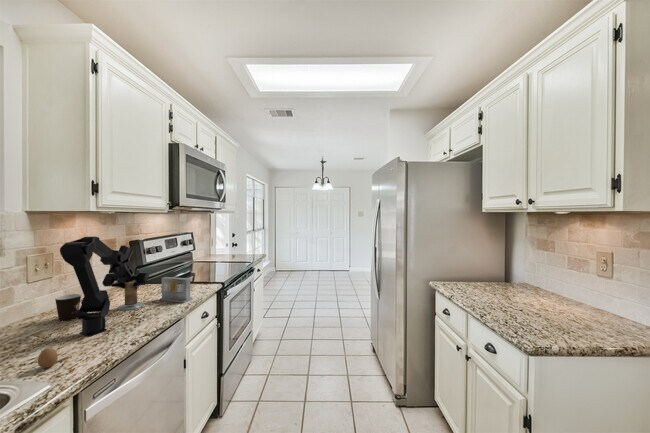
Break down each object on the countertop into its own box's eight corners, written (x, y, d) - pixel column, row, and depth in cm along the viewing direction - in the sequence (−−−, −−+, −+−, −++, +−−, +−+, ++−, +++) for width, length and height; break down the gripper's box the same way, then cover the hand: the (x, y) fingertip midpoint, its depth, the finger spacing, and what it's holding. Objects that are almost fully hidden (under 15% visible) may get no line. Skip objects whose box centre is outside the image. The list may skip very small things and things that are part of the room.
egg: (42, 372, 85) (42, 352, 85) (34, 369, 87) (34, 349, 86) (61, 365, 89) (60, 346, 89) (53, 362, 91) (52, 343, 91)
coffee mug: (65, 323, 123) (65, 300, 122) (50, 321, 124) (49, 298, 124) (92, 313, 134) (92, 292, 134) (78, 312, 136) (77, 291, 136)
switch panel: (184, 302, 150) (184, 280, 150) (159, 300, 154) (159, 278, 154) (192, 299, 156) (192, 277, 156) (168, 297, 160) (168, 276, 160)
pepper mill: (133, 305, 141) (133, 273, 141) (122, 305, 141) (122, 273, 141) (139, 302, 146) (139, 271, 146) (129, 302, 146) (128, 271, 146)
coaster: (127, 311, 137) (127, 310, 137) (112, 308, 141) (112, 307, 141) (149, 305, 147) (149, 303, 147) (134, 302, 151) (134, 301, 151)
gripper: (147, 256, 141) (156, 274, 152) (105, 257, 138) (117, 275, 149) (140, 275, 134) (150, 292, 145) (95, 277, 130) (109, 294, 141)
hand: (132, 288), depth 145 cm, fingers closed on pepper mill, 5 cm apart
